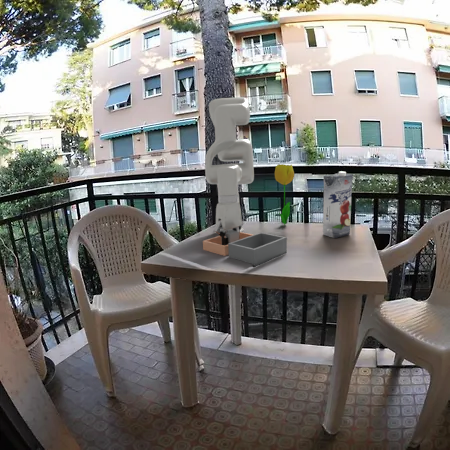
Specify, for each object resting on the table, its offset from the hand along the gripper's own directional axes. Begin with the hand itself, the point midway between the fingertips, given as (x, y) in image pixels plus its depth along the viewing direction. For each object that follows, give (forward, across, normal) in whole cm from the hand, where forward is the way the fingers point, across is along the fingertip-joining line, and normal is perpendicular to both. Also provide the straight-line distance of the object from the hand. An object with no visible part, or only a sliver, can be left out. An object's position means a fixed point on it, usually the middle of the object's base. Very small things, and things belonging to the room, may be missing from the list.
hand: (230, 244), depth 125 cm
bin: (+2, 0, +14) cm, 14 cm away
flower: (+2, -43, -5) cm, 43 cm away
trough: (+2, 0, 0) cm, 2 cm away
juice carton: (+2, -41, +23) cm, 47 cm away
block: (+1, 0, 0) cm, 1 cm away
